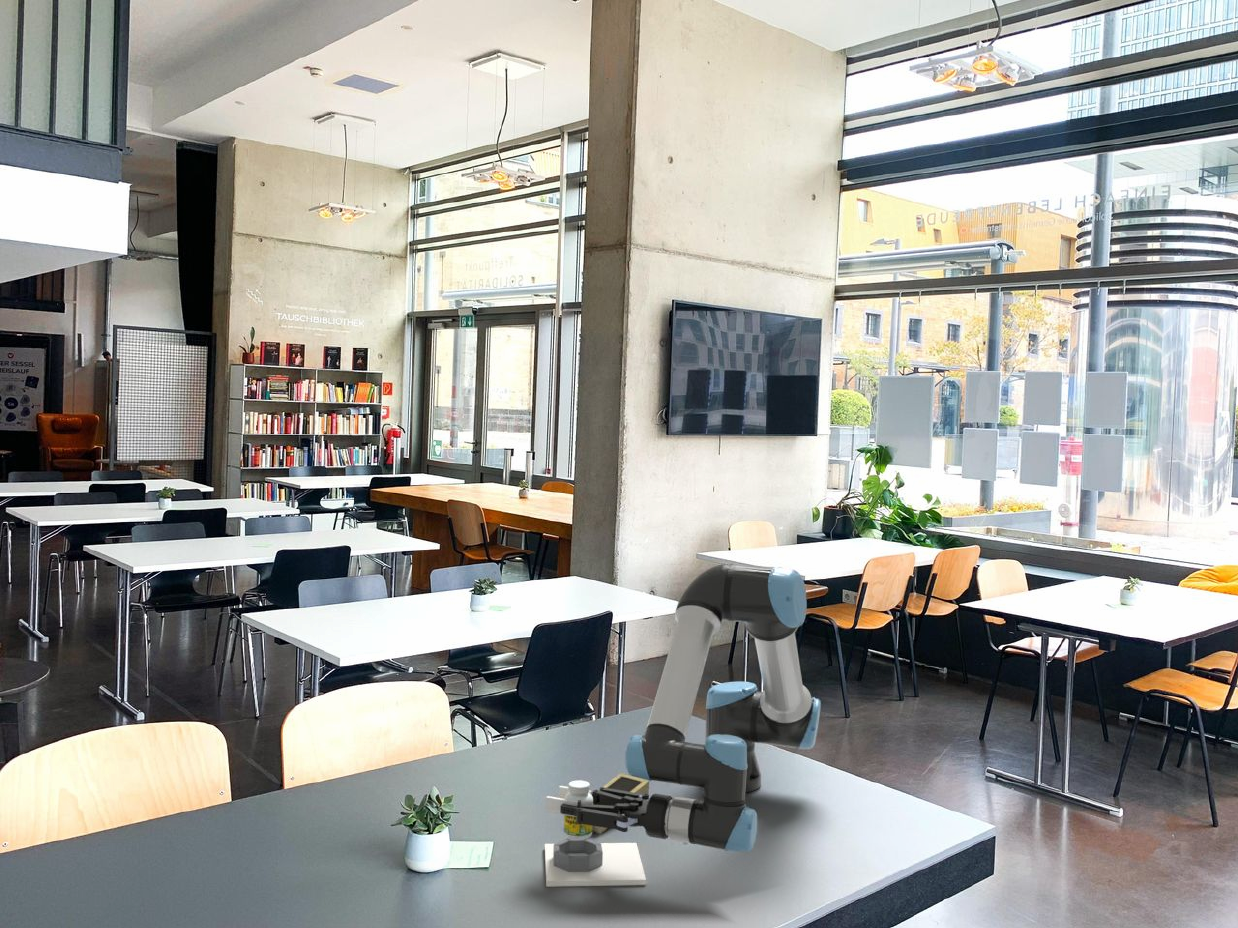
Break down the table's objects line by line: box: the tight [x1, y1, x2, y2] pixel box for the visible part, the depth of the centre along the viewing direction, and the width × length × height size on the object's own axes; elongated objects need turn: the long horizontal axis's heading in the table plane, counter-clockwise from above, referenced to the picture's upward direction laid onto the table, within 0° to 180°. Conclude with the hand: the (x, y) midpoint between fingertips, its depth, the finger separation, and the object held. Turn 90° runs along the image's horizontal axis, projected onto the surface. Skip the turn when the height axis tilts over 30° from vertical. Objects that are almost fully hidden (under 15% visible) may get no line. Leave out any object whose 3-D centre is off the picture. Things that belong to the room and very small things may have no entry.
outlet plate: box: [544, 837, 647, 888], centre depth 185 cm, size 18×16×4 cm
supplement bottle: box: [563, 779, 593, 839], centre depth 184 cm, size 5×5×10 cm
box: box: [592, 773, 650, 835], centre depth 208 cm, size 8×22×5 cm, turn 147°
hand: (553, 798), depth 186 cm, fingers closed on supplement bottle, 5 cm apart
